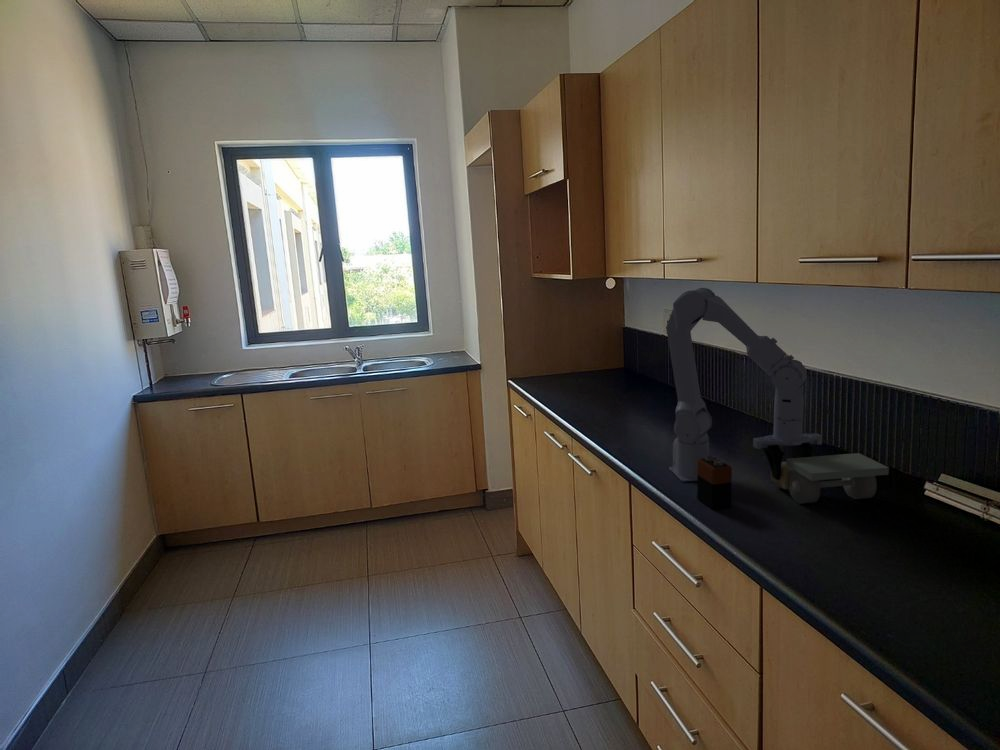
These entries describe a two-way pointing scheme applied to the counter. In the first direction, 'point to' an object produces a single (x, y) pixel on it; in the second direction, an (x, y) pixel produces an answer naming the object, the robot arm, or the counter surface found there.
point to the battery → (714, 482)
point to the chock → (783, 476)
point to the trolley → (833, 476)
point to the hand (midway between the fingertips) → (786, 477)
